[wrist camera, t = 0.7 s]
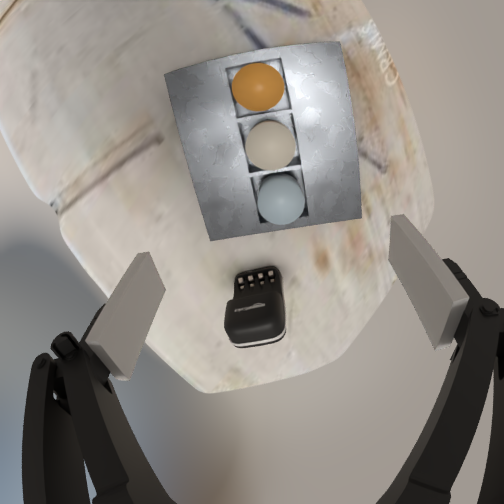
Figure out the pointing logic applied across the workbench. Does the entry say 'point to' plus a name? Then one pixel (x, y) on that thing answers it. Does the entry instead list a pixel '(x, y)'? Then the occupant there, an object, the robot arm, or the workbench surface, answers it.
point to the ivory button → (270, 145)
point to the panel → (243, 120)
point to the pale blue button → (280, 199)
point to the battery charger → (256, 309)
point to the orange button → (258, 87)
